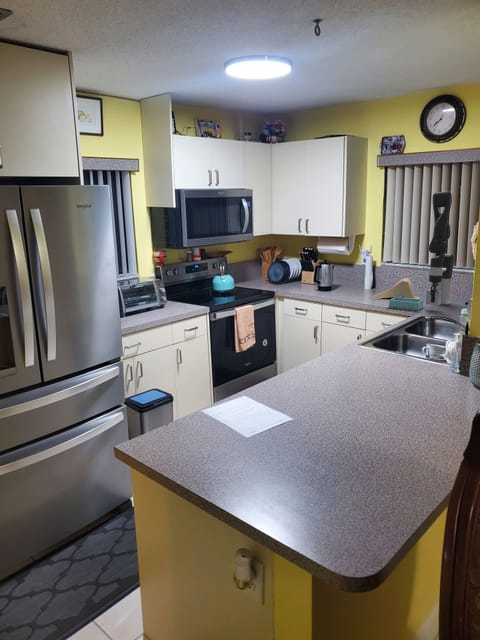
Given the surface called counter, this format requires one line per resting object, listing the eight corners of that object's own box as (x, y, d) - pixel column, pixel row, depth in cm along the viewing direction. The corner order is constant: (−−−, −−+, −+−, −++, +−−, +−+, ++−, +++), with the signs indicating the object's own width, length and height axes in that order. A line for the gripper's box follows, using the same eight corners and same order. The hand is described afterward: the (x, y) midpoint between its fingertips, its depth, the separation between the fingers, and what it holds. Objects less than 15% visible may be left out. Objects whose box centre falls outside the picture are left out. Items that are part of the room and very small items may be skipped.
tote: (394, 304, 326) (395, 296, 325) (422, 306, 317) (423, 299, 316) (388, 307, 313) (389, 300, 312) (417, 310, 304) (418, 302, 303)
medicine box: (440, 304, 305) (442, 290, 303) (438, 305, 302) (439, 291, 300) (428, 302, 310) (429, 289, 308) (425, 304, 307) (426, 290, 305)
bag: (415, 302, 356) (366, 298, 360) (418, 278, 354) (369, 274, 357) (422, 304, 337) (370, 300, 340) (425, 279, 335) (373, 275, 338)
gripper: (431, 272, 309) (429, 298, 313) (427, 275, 297) (424, 302, 301) (444, 273, 306) (441, 299, 310) (440, 276, 294) (437, 303, 298)
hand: (433, 301), depth 305 cm, fingers closed on medicine box, 5 cm apart
